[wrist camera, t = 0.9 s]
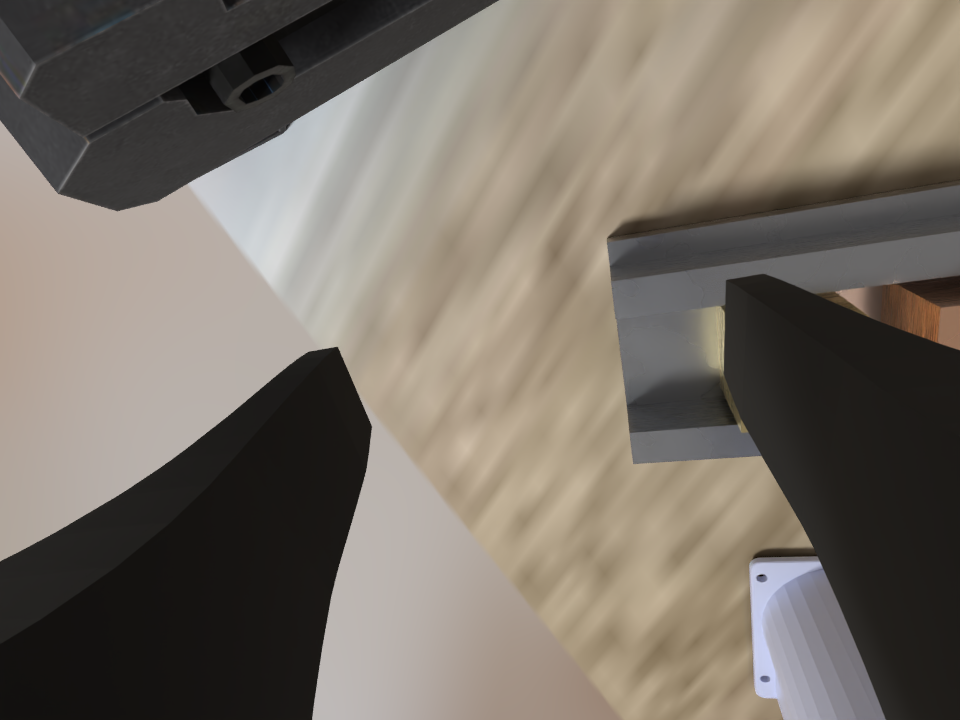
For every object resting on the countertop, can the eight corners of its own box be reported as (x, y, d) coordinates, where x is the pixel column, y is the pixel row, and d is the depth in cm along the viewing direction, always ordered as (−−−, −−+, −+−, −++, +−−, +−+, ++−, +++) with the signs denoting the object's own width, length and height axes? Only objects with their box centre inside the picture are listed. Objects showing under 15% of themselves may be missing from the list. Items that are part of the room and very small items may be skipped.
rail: (1029, 412, 23) (1097, 458, 20) (631, 441, 27) (635, 483, 24) (1068, 162, 20) (1158, 169, 17) (606, 237, 24) (607, 255, 21)
